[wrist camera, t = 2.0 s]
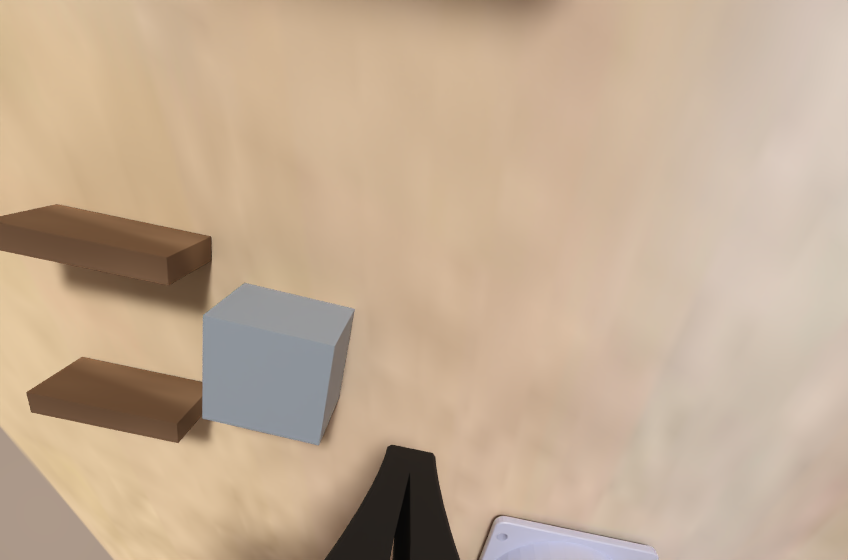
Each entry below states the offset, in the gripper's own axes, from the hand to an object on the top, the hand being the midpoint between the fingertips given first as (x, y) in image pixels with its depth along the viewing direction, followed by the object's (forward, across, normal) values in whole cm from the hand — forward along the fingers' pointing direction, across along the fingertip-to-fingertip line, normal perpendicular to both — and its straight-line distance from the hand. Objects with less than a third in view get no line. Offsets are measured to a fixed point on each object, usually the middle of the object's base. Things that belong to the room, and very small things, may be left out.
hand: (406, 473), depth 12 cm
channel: (+5, +12, 0) cm, 13 cm away
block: (+6, +5, 0) cm, 8 cm away
